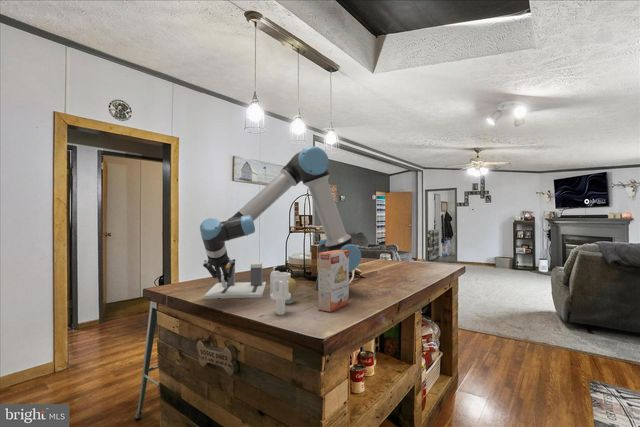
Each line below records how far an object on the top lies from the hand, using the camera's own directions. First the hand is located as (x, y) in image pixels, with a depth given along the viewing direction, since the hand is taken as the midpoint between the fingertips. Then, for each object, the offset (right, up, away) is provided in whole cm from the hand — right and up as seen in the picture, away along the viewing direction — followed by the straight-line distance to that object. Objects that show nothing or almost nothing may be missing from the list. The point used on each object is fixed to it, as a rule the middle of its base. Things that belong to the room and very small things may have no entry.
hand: (225, 285), depth 147 cm
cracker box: (+47, -3, -23) cm, 53 cm away
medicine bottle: (+24, -4, -1) cm, 25 cm away
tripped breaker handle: (-1, -2, +11) cm, 11 cm away
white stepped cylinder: (+28, -4, -30) cm, 42 cm away
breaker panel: (+5, -4, +4) cm, 7 cm away
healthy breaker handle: (+12, -2, +11) cm, 16 cm away
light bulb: (+30, -4, -17) cm, 34 cm away
